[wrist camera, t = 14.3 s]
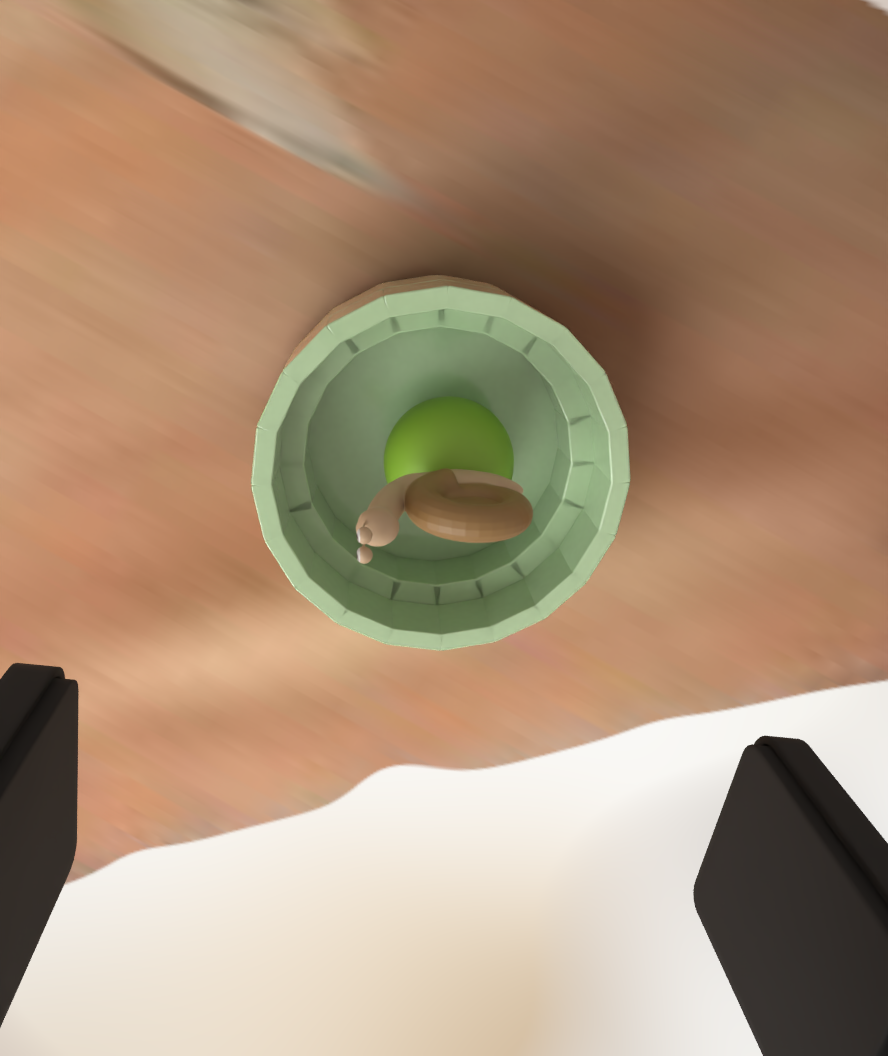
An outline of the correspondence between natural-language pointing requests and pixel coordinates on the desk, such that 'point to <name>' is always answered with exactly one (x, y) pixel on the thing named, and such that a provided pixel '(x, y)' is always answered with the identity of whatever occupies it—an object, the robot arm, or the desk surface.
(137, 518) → the desk surface
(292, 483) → the green round bowl
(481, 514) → the snail figurine
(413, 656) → the desk surface
